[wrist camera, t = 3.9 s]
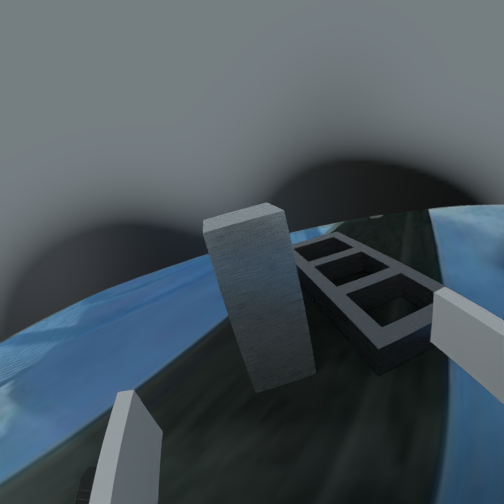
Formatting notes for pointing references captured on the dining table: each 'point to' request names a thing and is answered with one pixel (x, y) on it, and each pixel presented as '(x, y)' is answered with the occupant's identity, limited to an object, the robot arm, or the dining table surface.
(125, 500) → the robot arm
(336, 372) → the dining table surface
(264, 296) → the grey upright post
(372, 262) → the rack rail
